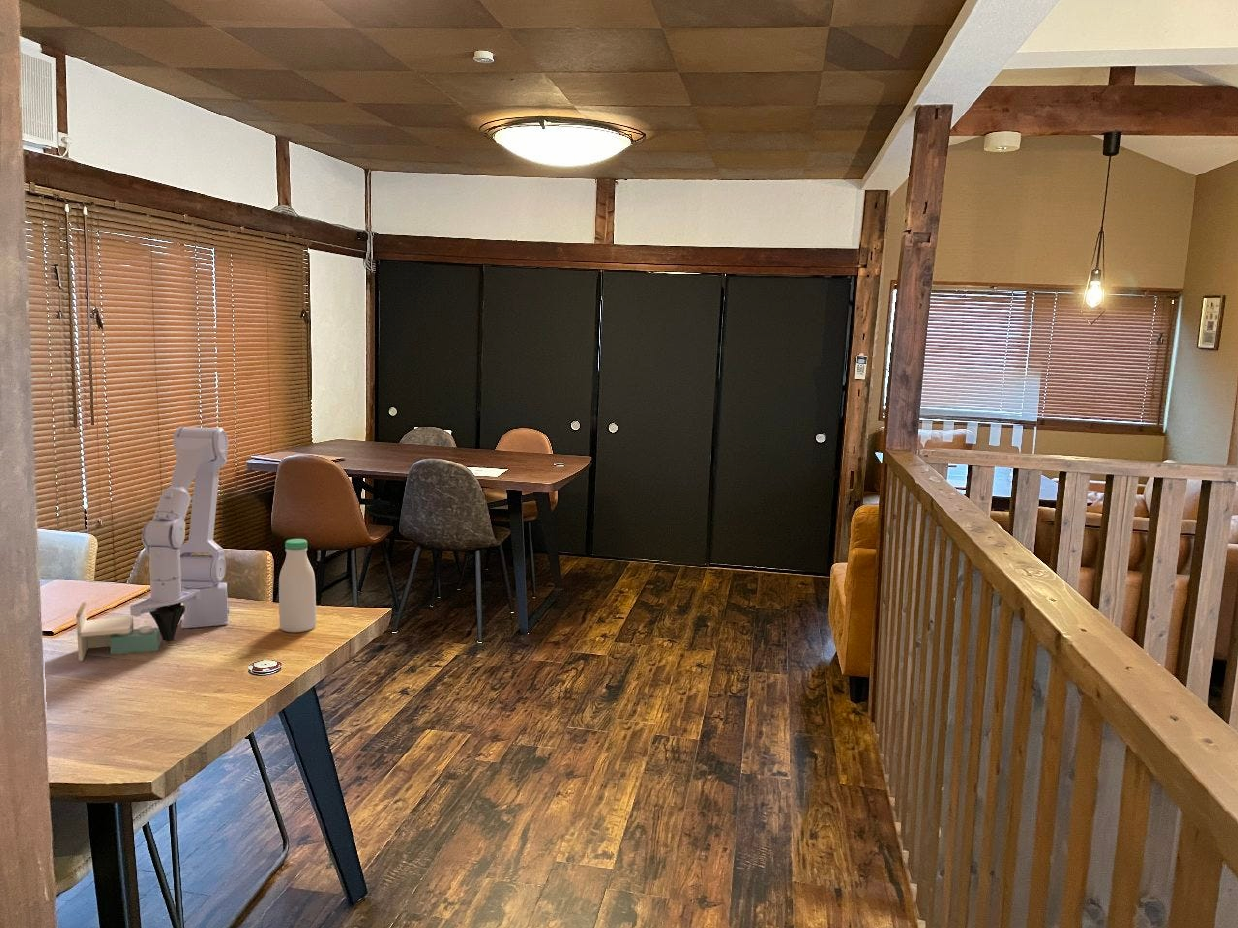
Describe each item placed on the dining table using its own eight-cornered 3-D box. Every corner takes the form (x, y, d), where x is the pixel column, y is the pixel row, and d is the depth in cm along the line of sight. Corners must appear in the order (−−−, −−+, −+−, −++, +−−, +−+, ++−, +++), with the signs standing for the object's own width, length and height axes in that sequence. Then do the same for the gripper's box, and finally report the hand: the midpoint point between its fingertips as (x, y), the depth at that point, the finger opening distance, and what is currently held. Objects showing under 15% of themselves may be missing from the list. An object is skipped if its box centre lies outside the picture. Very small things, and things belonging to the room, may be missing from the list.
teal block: (160, 642, 190) (159, 623, 189) (157, 650, 186) (156, 630, 185) (115, 646, 187) (114, 626, 187) (110, 653, 183) (109, 634, 182)
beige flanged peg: (134, 642, 189) (132, 598, 188) (130, 656, 182) (128, 610, 181) (85, 647, 186) (82, 602, 184) (79, 661, 179) (76, 614, 177)
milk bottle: (322, 628, 202) (321, 541, 199) (290, 635, 197) (288, 546, 194) (305, 619, 207) (303, 534, 204) (273, 627, 202) (271, 540, 199)
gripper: (184, 566, 194) (187, 627, 196) (119, 582, 181) (123, 646, 183) (206, 571, 191) (208, 633, 193) (141, 587, 178) (144, 653, 180)
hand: (168, 640), depth 188 cm, fingers closed
